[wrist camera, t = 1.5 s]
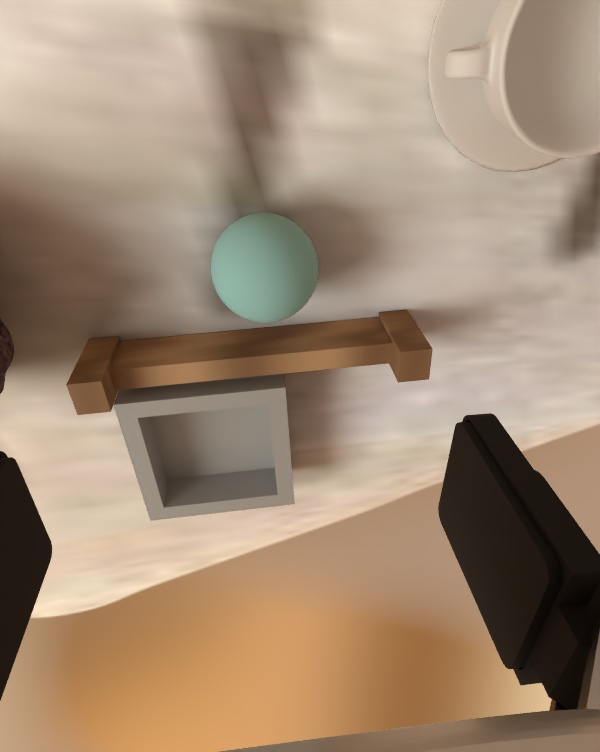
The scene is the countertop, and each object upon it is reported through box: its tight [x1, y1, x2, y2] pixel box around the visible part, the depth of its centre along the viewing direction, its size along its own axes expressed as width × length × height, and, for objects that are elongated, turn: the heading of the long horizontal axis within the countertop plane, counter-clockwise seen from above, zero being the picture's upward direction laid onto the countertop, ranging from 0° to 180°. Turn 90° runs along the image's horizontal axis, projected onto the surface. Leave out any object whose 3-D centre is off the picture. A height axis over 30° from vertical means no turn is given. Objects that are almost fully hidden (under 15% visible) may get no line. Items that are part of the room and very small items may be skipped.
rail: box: [66, 310, 432, 415], centre depth 26 cm, size 18×2×4 cm, turn 93°
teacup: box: [428, 0, 600, 172], centre depth 20 cm, size 10×10×5 cm
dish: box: [114, 374, 294, 521], centre depth 30 cm, size 9×9×3 cm
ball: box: [211, 213, 318, 323], centre depth 23 cm, size 5×5×5 cm
